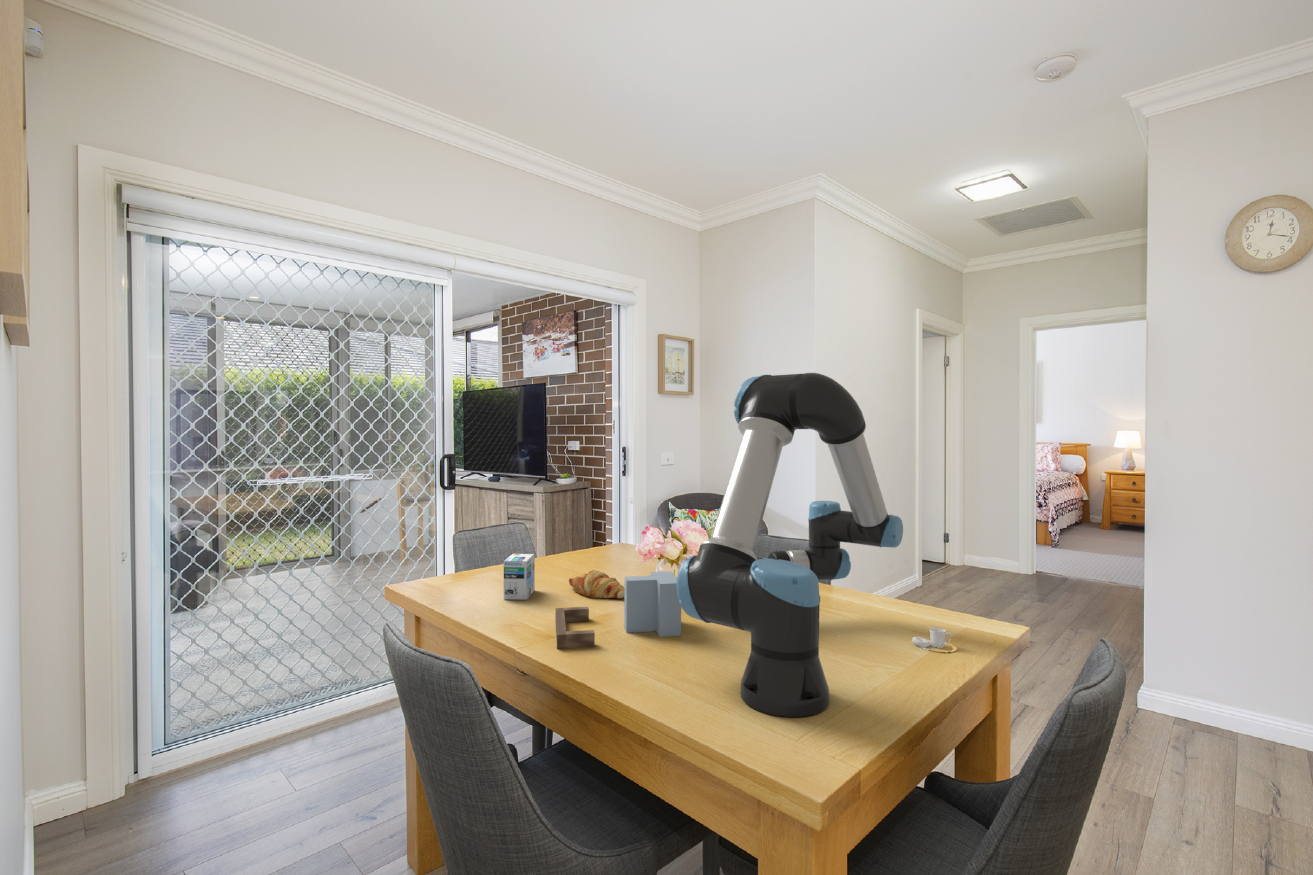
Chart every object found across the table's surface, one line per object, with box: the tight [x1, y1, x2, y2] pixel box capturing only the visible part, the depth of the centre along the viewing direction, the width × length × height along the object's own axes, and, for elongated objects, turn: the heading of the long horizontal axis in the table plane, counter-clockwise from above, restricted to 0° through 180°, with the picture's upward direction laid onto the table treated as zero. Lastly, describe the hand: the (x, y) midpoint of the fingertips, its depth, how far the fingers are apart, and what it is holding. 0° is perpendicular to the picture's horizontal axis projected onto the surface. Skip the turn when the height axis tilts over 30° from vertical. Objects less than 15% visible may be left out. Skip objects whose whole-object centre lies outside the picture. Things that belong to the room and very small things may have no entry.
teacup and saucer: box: [911, 627, 953, 651], centre depth 135 cm, size 9×8×4 cm
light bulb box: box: [503, 553, 536, 601], centre depth 175 cm, size 11×7×11 cm, turn 179°
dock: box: [554, 606, 596, 650], centre depth 143 cm, size 8×20×3 cm, turn 10°
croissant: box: [568, 569, 625, 599], centre depth 177 cm, size 21×10×8 cm, turn 56°
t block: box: [623, 570, 682, 638], centre depth 146 cm, size 12×12×12 cm
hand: (693, 571), depth 148 cm, fingers closed
